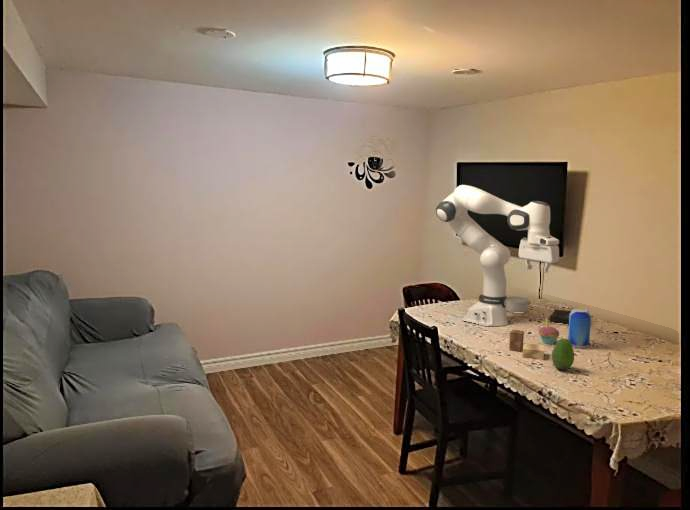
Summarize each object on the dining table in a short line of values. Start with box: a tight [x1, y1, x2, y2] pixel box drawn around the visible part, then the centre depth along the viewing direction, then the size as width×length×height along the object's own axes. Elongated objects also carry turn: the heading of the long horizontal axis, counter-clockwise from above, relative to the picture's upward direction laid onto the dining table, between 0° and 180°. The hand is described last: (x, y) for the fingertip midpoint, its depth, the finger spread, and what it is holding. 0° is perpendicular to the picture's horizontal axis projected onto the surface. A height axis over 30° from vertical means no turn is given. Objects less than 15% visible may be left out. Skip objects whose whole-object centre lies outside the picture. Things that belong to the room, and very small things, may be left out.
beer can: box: [567, 307, 592, 349], centre depth 226 cm, size 8×8×16 cm
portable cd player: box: [549, 309, 572, 326], centre depth 268 cm, size 16×17×4 cm
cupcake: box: [538, 316, 560, 345], centre depth 232 cm, size 9×8×12 cm
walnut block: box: [508, 329, 525, 353], centre depth 222 cm, size 4×4×8 cm
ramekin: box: [506, 295, 530, 313], centre depth 289 cm, size 13×13×7 cm
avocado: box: [551, 338, 575, 371], centre depth 199 cm, size 8×8×12 cm
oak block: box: [521, 342, 545, 361], centre depth 215 cm, size 8×8×4 cm
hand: (537, 270), depth 229 cm, fingers open, 8 cm apart
